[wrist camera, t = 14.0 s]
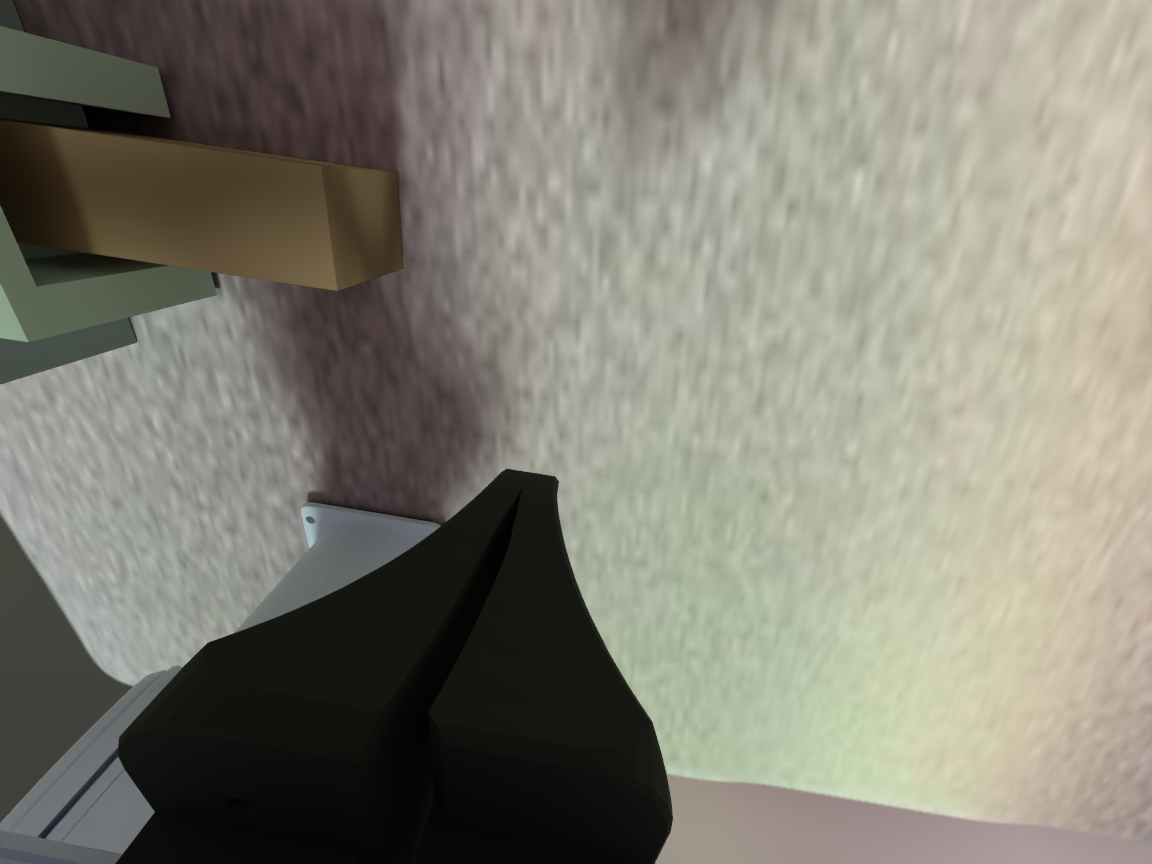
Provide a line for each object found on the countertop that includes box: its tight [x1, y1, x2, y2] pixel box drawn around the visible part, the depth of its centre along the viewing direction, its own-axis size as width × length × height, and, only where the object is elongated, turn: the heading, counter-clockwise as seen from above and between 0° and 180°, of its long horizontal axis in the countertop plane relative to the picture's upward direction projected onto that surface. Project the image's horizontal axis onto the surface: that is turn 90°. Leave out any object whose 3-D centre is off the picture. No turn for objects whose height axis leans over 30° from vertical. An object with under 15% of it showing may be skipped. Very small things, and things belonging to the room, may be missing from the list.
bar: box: [0, 118, 403, 291], centre depth 16 cm, size 4×12×5 cm, turn 83°
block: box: [0, 26, 217, 342], centre depth 15 cm, size 8×5×7 cm, turn 173°
